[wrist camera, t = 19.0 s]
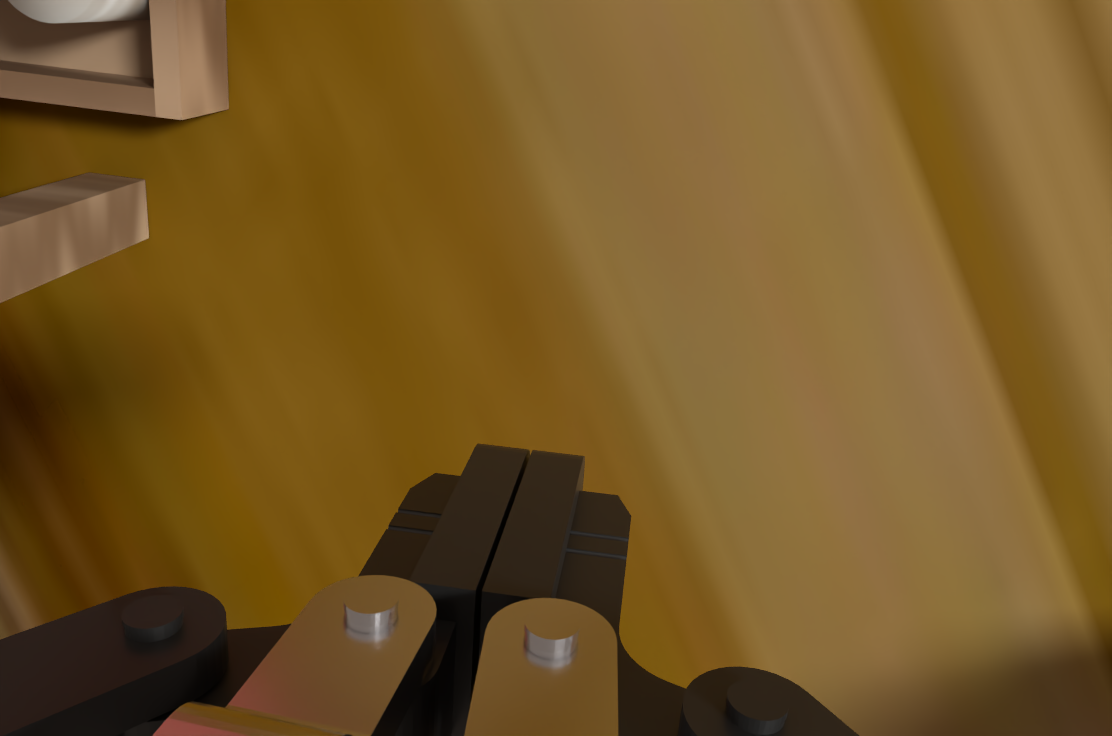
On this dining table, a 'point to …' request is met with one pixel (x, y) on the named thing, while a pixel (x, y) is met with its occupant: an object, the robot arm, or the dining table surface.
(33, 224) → the stool
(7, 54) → the caddy
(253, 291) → the dining table surface
